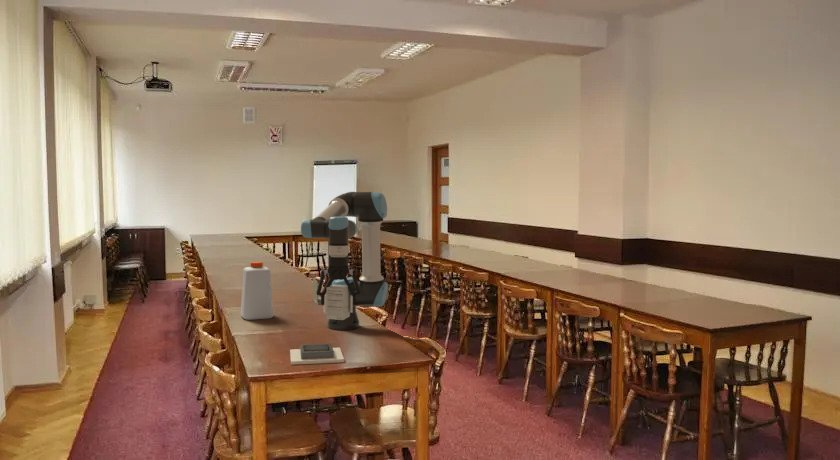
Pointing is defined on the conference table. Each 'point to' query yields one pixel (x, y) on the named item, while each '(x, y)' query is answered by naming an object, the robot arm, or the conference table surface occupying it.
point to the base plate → (297, 358)
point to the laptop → (315, 296)
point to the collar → (316, 351)
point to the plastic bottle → (256, 292)
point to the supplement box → (338, 302)
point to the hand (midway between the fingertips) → (338, 312)
